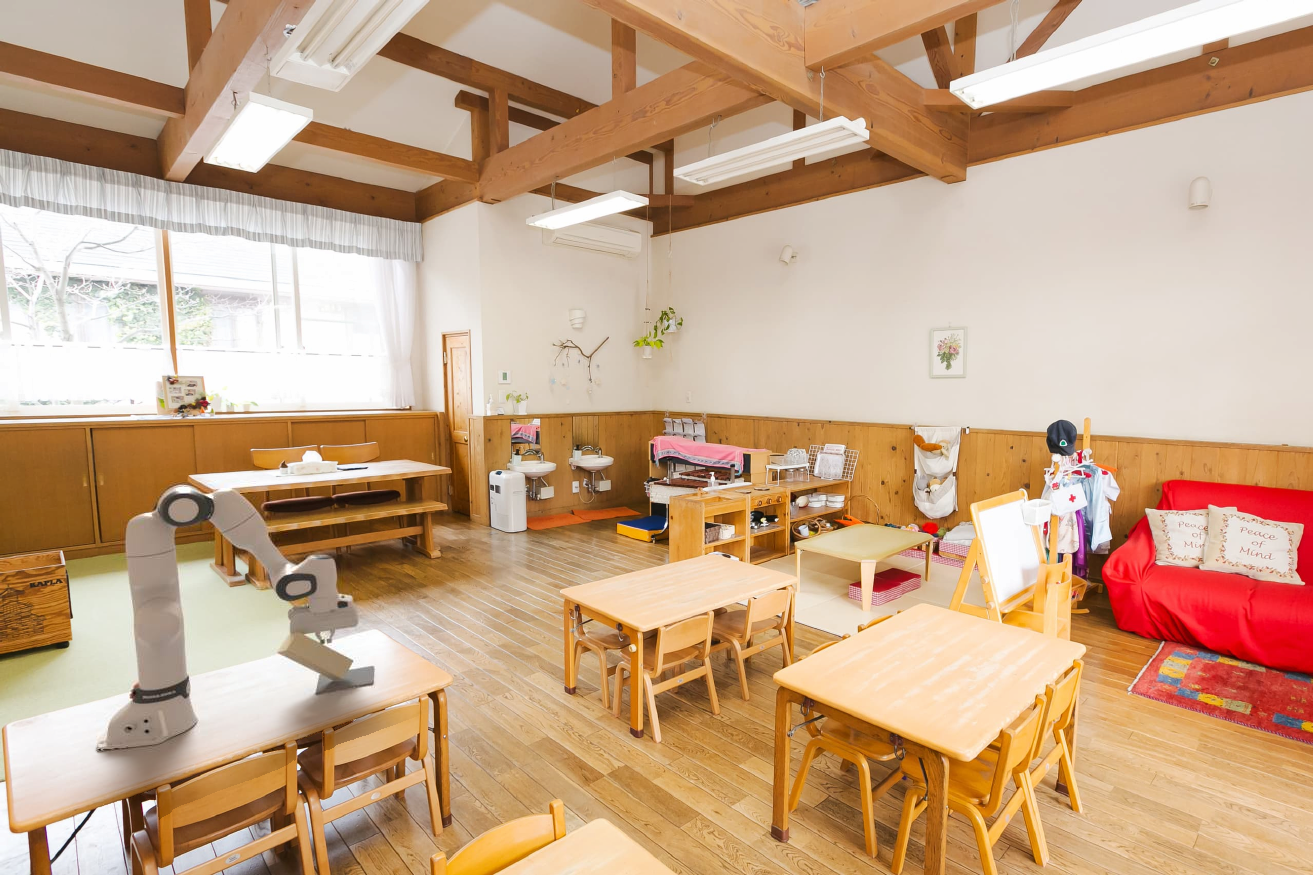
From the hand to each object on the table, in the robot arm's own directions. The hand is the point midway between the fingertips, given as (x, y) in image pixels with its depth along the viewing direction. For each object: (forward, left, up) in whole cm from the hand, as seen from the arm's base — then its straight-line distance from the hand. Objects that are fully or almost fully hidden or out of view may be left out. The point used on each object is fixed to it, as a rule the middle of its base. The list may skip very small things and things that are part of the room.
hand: (326, 643), depth 210 cm
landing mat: (+5, +1, -14) cm, 15 cm away
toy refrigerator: (+5, 0, -10) cm, 11 cm away
